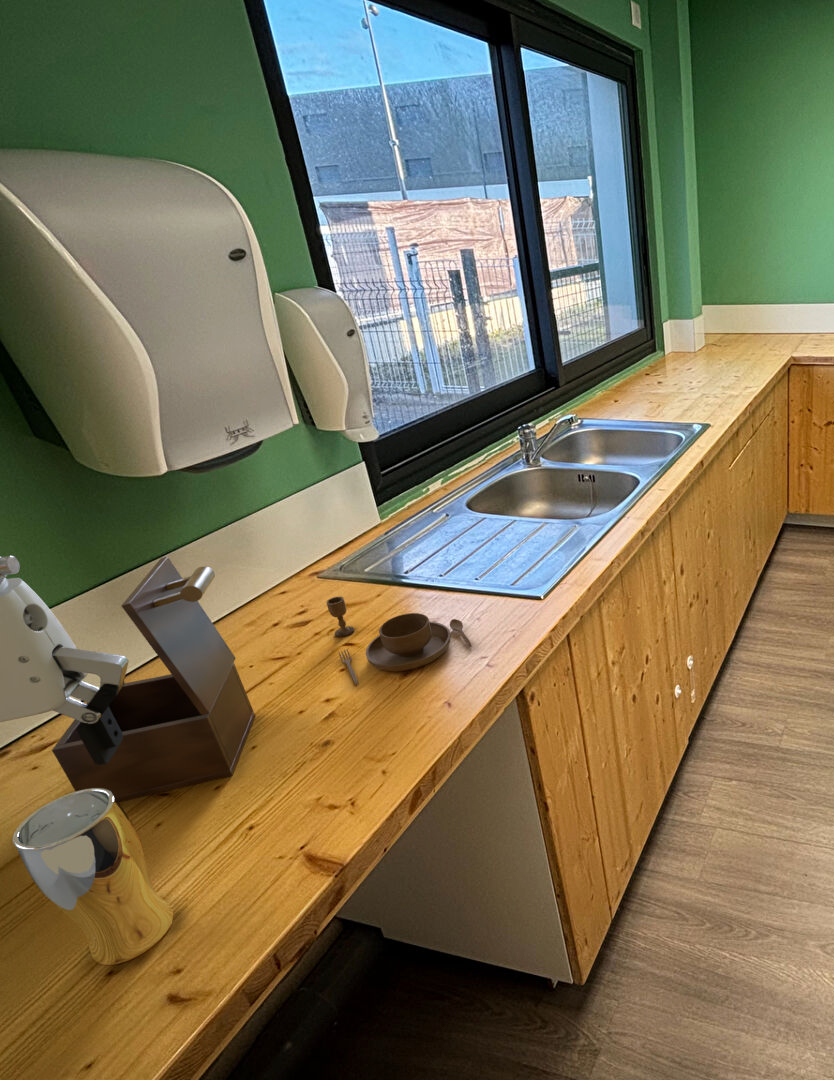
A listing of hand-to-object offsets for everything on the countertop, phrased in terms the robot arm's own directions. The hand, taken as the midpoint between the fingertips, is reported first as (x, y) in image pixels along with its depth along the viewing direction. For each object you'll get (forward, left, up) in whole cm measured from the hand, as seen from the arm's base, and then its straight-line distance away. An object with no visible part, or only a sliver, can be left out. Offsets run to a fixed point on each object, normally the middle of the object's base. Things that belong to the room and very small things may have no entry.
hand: (38, 769), depth 56 cm
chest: (-4, +26, -20) cm, 33 cm away
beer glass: (0, 0, -21) cm, 21 cm away
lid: (+1, +26, -3) cm, 26 cm away
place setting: (+21, +44, -20) cm, 53 cm away
